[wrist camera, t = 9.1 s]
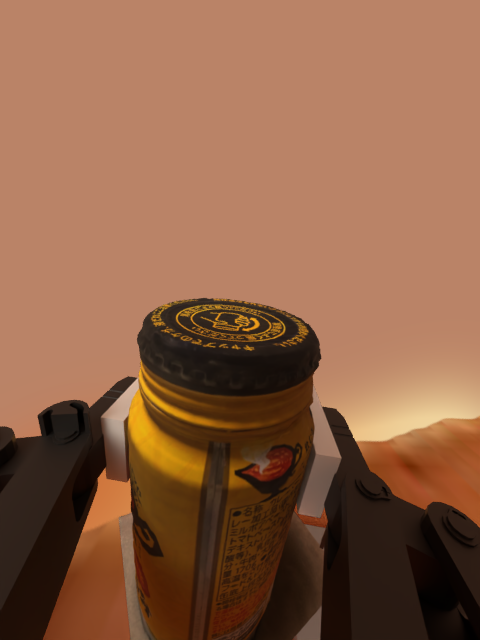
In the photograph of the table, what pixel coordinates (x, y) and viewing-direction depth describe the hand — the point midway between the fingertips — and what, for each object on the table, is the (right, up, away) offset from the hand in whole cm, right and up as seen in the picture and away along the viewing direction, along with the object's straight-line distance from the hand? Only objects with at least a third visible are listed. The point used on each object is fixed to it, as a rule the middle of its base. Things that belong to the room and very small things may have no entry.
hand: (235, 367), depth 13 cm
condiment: (0, -8, -2) cm, 9 cm away
